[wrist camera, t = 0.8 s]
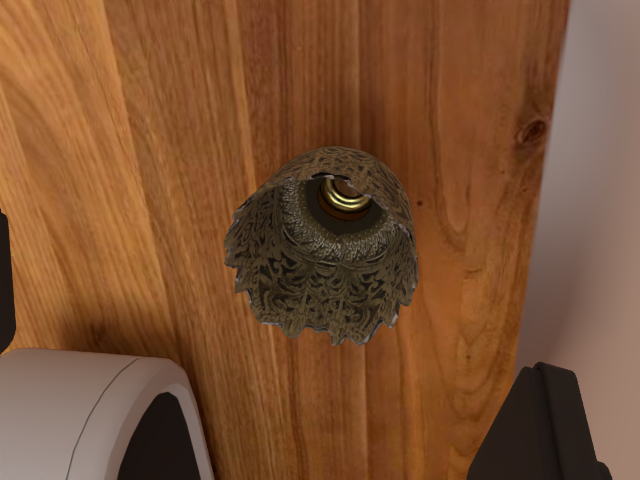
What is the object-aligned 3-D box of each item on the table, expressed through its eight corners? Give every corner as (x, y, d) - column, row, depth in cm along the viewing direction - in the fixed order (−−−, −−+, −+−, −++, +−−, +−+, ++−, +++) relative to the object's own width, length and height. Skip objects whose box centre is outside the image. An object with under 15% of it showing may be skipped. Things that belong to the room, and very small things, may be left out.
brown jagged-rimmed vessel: (269, 230, 32) (217, 324, 25) (283, 93, 28) (226, 161, 21) (410, 261, 31) (395, 367, 24) (444, 125, 27) (439, 206, 20)
